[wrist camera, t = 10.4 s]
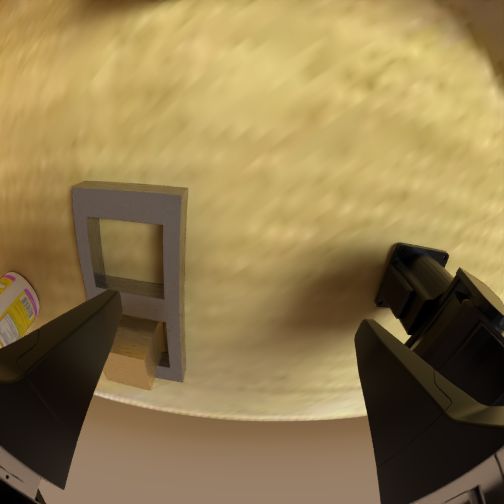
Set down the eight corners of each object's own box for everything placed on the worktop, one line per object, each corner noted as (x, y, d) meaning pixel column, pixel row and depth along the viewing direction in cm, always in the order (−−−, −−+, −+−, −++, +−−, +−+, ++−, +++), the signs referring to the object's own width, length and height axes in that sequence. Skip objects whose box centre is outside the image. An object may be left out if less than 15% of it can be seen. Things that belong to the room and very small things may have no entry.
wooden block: (161, 313, 25) (143, 360, 19) (164, 345, 27) (150, 390, 22) (119, 305, 25) (95, 348, 19) (125, 337, 27) (106, 379, 21)
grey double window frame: (188, 188, 19) (181, 195, 18) (185, 368, 28) (182, 382, 27) (84, 181, 19) (71, 187, 17) (112, 353, 28) (107, 365, 26)
